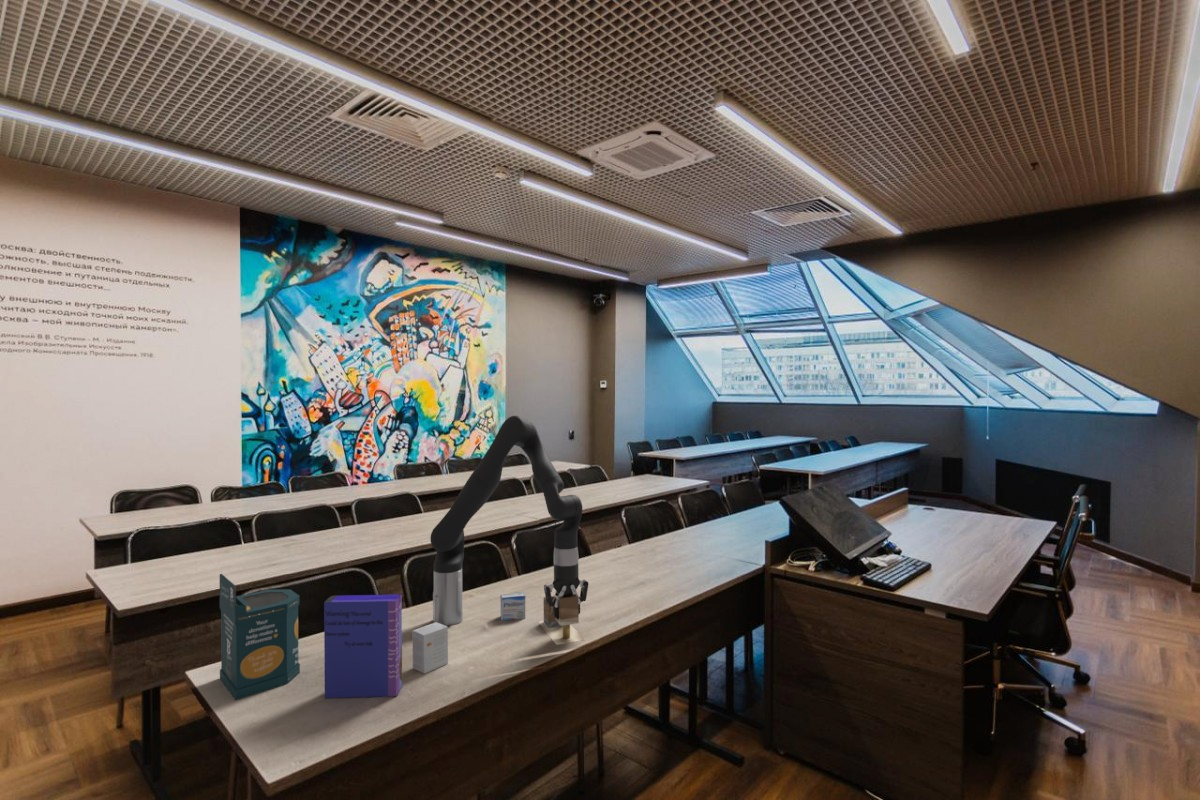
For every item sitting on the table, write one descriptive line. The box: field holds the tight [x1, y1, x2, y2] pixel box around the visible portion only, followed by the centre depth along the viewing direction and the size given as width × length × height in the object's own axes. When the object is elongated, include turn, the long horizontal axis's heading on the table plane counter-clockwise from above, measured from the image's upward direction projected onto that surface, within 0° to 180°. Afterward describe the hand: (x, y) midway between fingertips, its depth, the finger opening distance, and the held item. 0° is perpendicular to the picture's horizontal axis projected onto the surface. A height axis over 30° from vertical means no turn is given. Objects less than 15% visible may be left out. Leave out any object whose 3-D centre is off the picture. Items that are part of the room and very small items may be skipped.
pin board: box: [537, 619, 585, 646], centre depth 183 cm, size 9×20×7 cm, turn 22°
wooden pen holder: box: [543, 595, 561, 628], centre depth 188 cm, size 6×6×8 cm
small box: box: [411, 622, 449, 674], centre depth 161 cm, size 8×6×10 cm
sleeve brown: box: [555, 594, 580, 626], centre depth 177 cm, size 6×6×8 cm
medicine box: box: [500, 591, 526, 621], centre depth 194 cm, size 8×4×9 cm, turn 105°
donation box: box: [219, 573, 301, 701], centre depth 155 cm, size 16×16×28 cm
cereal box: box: [323, 594, 403, 700], centre depth 147 cm, size 17×5×24 cm, turn 92°
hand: (566, 616), depth 177 cm, fingers closed on sleeve brown, 5 cm apart
